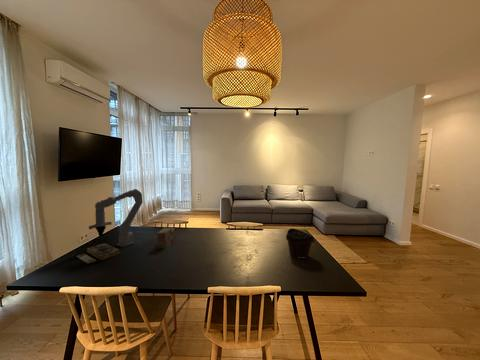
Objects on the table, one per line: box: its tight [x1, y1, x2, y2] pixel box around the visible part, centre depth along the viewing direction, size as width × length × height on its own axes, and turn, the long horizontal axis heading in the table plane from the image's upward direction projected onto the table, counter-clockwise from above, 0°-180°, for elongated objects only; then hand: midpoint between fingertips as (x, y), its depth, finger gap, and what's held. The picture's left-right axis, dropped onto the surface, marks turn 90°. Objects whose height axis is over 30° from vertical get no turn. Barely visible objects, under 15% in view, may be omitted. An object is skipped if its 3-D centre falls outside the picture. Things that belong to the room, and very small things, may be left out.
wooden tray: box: [86, 242, 120, 261], centre depth 150 cm, size 12×20×3 cm, turn 57°
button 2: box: [99, 243, 107, 251], centre depth 150 cm, size 4×4×3 cm
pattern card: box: [76, 253, 97, 264], centre depth 142 cm, size 5×17×1 cm, turn 57°
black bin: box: [285, 228, 315, 260], centre depth 154 cm, size 18×20×18 cm
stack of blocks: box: [156, 227, 176, 250], centre depth 171 cm, size 21×6×12 cm, turn 177°
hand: (100, 236), depth 157 cm, fingers closed
